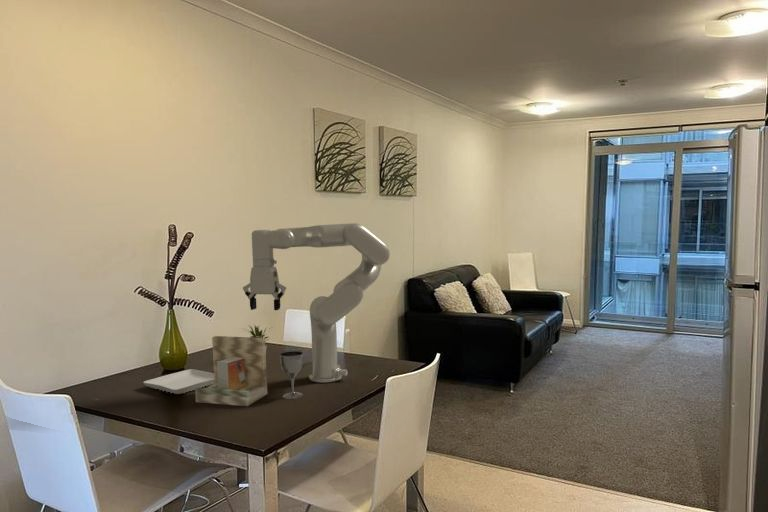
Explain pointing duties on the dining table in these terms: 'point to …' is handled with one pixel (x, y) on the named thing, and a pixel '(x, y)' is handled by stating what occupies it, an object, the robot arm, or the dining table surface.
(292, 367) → the wine glass
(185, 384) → the salad plate
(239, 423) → the dining table surface
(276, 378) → the dining table surface
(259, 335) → the house plant
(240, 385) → the small box
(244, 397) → the wavy patterned display stand
